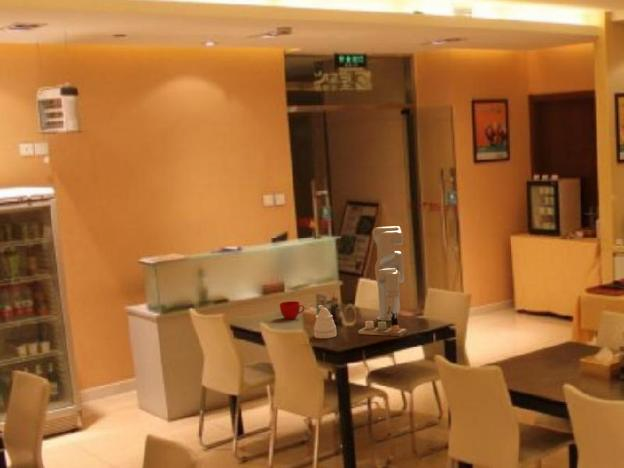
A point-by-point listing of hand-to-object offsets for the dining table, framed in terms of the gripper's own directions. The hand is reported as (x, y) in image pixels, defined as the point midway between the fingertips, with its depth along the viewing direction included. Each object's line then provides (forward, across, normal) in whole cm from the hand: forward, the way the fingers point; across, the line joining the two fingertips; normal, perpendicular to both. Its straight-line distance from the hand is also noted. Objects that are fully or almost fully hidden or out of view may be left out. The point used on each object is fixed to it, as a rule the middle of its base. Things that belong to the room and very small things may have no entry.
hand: (394, 324), depth 498 cm
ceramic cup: (+6, -27, -84) cm, 88 cm away
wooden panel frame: (+5, 0, -8) cm, 9 cm away
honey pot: (+5, +14, -38) cm, 41 cm away
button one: (+3, 0, -16) cm, 16 cm away
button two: (+3, 0, -8) cm, 8 cm away
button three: (+5, 0, 0) cm, 5 cm away
